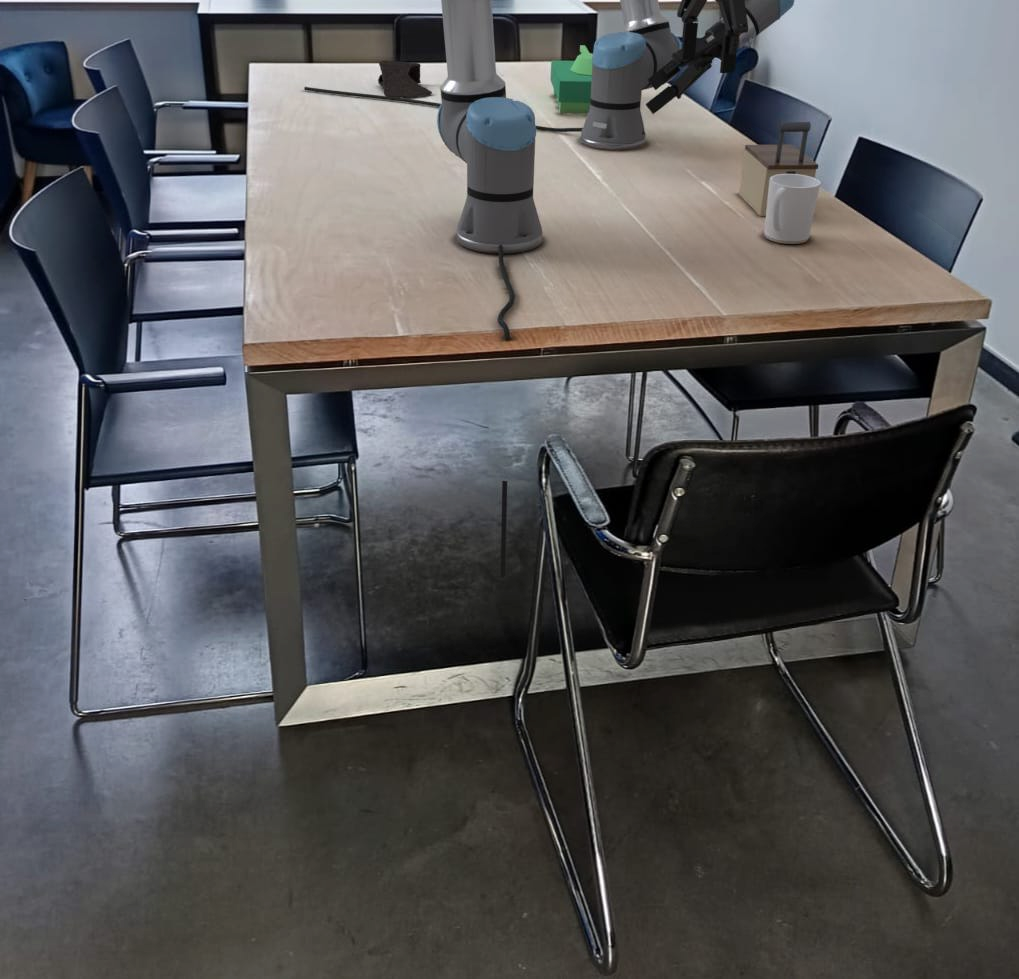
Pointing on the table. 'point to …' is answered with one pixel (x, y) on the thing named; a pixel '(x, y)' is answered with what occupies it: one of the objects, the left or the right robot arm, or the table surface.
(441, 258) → the table surface
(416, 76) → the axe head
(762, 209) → the chest
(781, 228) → the mug
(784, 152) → the lid
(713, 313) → the table surface
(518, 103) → the left robot arm
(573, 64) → the toy tank
